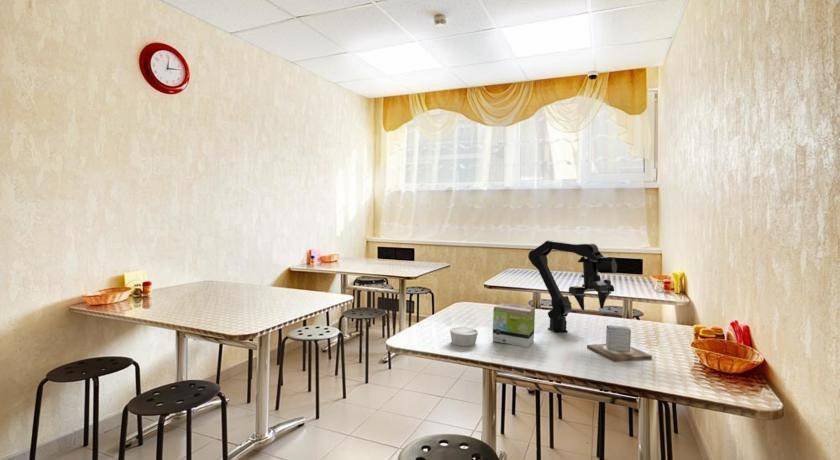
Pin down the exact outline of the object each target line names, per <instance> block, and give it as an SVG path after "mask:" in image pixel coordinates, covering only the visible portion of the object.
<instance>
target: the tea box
mask: <svg viewBox="0 0 840 460" xmlns="http://www.w3.org/2000/svg"><path fill="white" fill-rule="evenodd" d="M535 315H536V307H535V306H527V305H520V304H519V305H518V304H513V303H504V302H500V303H498V304H497V305H495V306H494V307H493V316H492V317H493V318H492V320H493V321H492V342H494V343H495V342H497V343H502V344H508V345H513V346H517V347H523V348H527V349H528V348H529V347H530V346H531V344H532V343H533V342H534V341H535V340H534V339H535V338H534V337H535V322H536V321H535V319H536V317H535Z"/></svg>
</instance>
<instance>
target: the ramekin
mask: <svg viewBox="0 0 840 460" xmlns="http://www.w3.org/2000/svg"><path fill="white" fill-rule="evenodd" d="M449 334H450V338H451V339H450V341H451V342H452V344H453V345H455V346H457V347H464V348H465V347H473V346H474V345H476V341H477V338H478V334H479V332H478V330H477V329H475V328H471V327H467V326H456V327H452V328H450V330H449Z"/></svg>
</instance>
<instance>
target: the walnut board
mask: <svg viewBox="0 0 840 460" xmlns="http://www.w3.org/2000/svg"><path fill="white" fill-rule="evenodd" d="M586 348H587V349H589V350H590V351H592V352H594V353H597V354H599V355H600V356H602V357H605V358H607V359H609V360H610V361H613V362H629V361H638V360H639V361H640V360H652V359H653V356H652V355H651V354H649V353H647V352H644V351H642V350H640V349H637V348H635V347H632V346H631V345H630V352H626V351H613V350H608V349H607V347H606V343H596V344H586Z"/></svg>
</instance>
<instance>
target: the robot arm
mask: <svg viewBox="0 0 840 460" xmlns="http://www.w3.org/2000/svg"><path fill="white" fill-rule="evenodd" d="M552 250H555V251H561V252H567V253H573V254H576V255H578V256H580V258H579V259H578V260H577V263H582V273H583V274H582V275H581V278H583V284H582V285H581V286H578V285H575V286H569V288H568V294H571V296H573V297H574V298H575V300H576V301H577V303H578V306H579V307H580V309H581V310H582V311H585V297H586V294H585V292H586V293H587V292H597V297H598V303H599V307H600V309H604V306H605V303H606V300H607V297H608V296H609V295H612V293H613V292H615V286H613V284H612V282H611V279H608V278H607V279H601V276H600V275H599V273H600V274H616V272H617V271H618V270H617V269H618V264H617V261H616V260H615V256H609V257H605V256H604V255H603V254H602V252H601V251H599V247H598V246H597V244H595V243H577V244H576V243H570V242H564V241H563V242H562V241H556V240H555V241H554V240H545V242H542V243H541V244H540V245H539V246H537V247H536V248H535V249H532V250H530V251H529V252H528V255H527V257H528V260H529V261H530V263H531V264H532V265H533V266H534V267H535V268H536V270H537V271H538V273H539V275H540V277H541V279H542V281H543V283H544V286H545V287H546V289H547V291H548V294H549V295H550V298H551V303H550V304H551V308H552V309H550V311H548V312H547V316H548V318H549V327H547V329H548V330H550V331H551V332H554V333H567V332H568V330H567V318H566V317H568V314H569V313H571V312H572V309H573V308H572V302H571V301H570V298H569V296H568V295H565V296H564V295H563V294H562V293H561V292H562V291H561V290H560V288H559V286H558V285H557V282H556V280H555V278H554V276H553V274H552V272H551V270H550V267H549V266H548V264H549V263H548V257H547V256H548V255H550V254H551V252H552Z"/></svg>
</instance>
